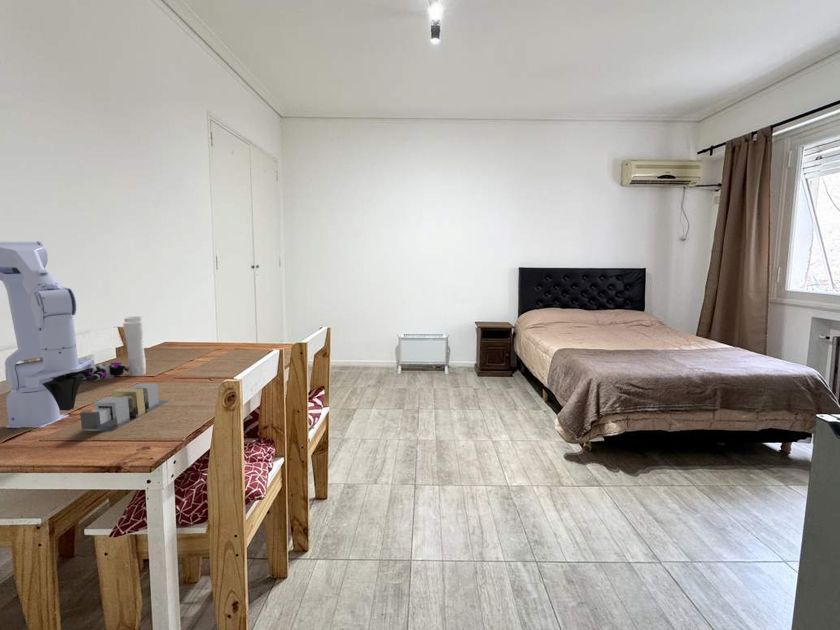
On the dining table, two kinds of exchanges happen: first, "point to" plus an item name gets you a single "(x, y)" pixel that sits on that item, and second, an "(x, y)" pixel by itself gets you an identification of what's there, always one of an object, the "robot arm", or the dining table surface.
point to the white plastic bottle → (135, 345)
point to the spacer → (136, 398)
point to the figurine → (103, 372)
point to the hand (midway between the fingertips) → (66, 409)
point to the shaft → (100, 415)
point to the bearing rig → (122, 409)
